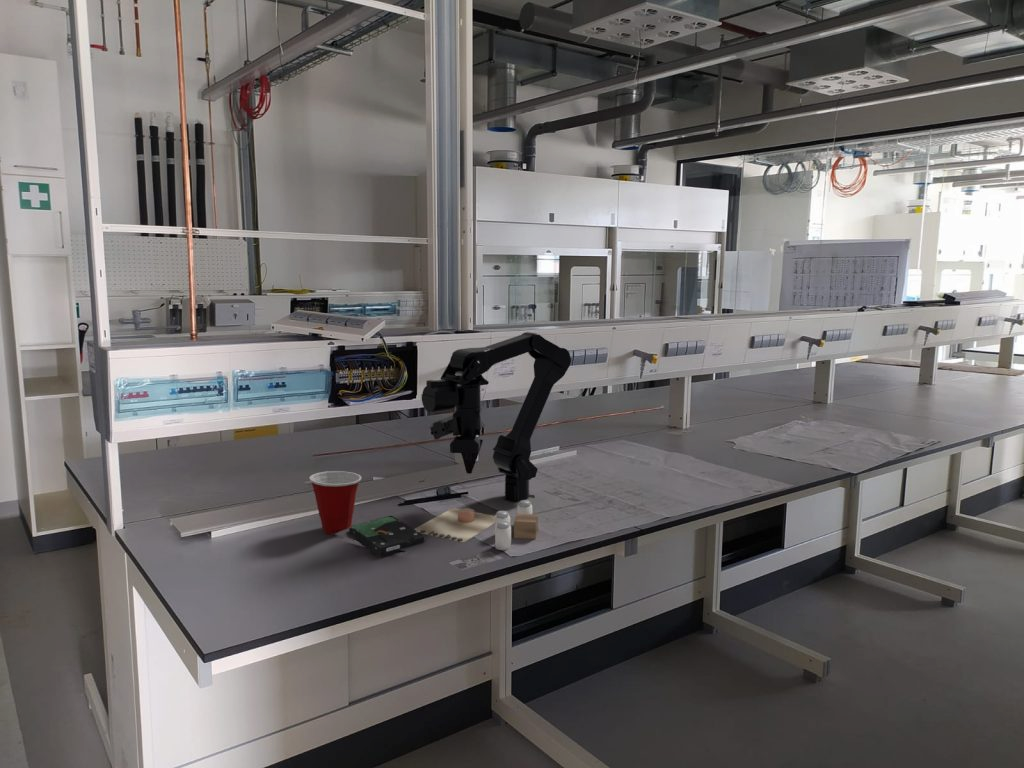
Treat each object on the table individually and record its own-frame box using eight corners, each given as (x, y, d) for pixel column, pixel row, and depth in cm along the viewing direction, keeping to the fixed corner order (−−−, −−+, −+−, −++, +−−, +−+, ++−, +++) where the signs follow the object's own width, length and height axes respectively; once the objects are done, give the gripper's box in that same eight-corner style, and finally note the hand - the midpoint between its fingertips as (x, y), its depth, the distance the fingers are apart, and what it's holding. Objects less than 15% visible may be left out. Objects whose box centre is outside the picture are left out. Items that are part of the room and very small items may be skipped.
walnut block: (517, 533, 153) (517, 513, 152) (538, 534, 152) (538, 514, 151) (514, 541, 148) (514, 521, 147) (535, 543, 148) (535, 522, 147)
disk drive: (426, 548, 147) (391, 526, 158) (426, 535, 146) (391, 514, 158) (380, 561, 140) (348, 537, 152) (379, 547, 140) (347, 524, 151)
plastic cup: (372, 531, 154) (369, 477, 152) (323, 542, 148) (320, 486, 146) (351, 516, 163) (349, 465, 161) (304, 526, 157) (301, 473, 154)
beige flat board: (452, 511, 166) (452, 507, 166) (502, 521, 160) (502, 516, 159) (410, 534, 152) (410, 529, 152) (463, 546, 146) (463, 541, 146)
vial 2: (500, 546, 146) (500, 519, 145) (514, 549, 144) (514, 521, 143) (492, 551, 143) (492, 524, 142) (506, 555, 142) (506, 527, 140)
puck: (463, 515, 161) (463, 507, 160) (477, 518, 159) (477, 510, 159) (454, 521, 157) (454, 512, 157) (468, 523, 156) (468, 515, 155)
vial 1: (499, 535, 152) (499, 508, 151) (513, 538, 150) (512, 511, 149) (491, 540, 149) (491, 513, 148) (505, 543, 147) (505, 516, 146)
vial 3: (521, 523, 158) (521, 498, 157) (534, 526, 156) (534, 500, 155) (514, 528, 155) (514, 502, 154) (527, 531, 154) (527, 505, 153)
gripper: (437, 397, 170) (439, 461, 173) (425, 415, 152) (427, 486, 155) (484, 397, 170) (485, 461, 173) (477, 415, 152) (479, 486, 154)
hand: (469, 473), depth 164 cm, fingers closed
